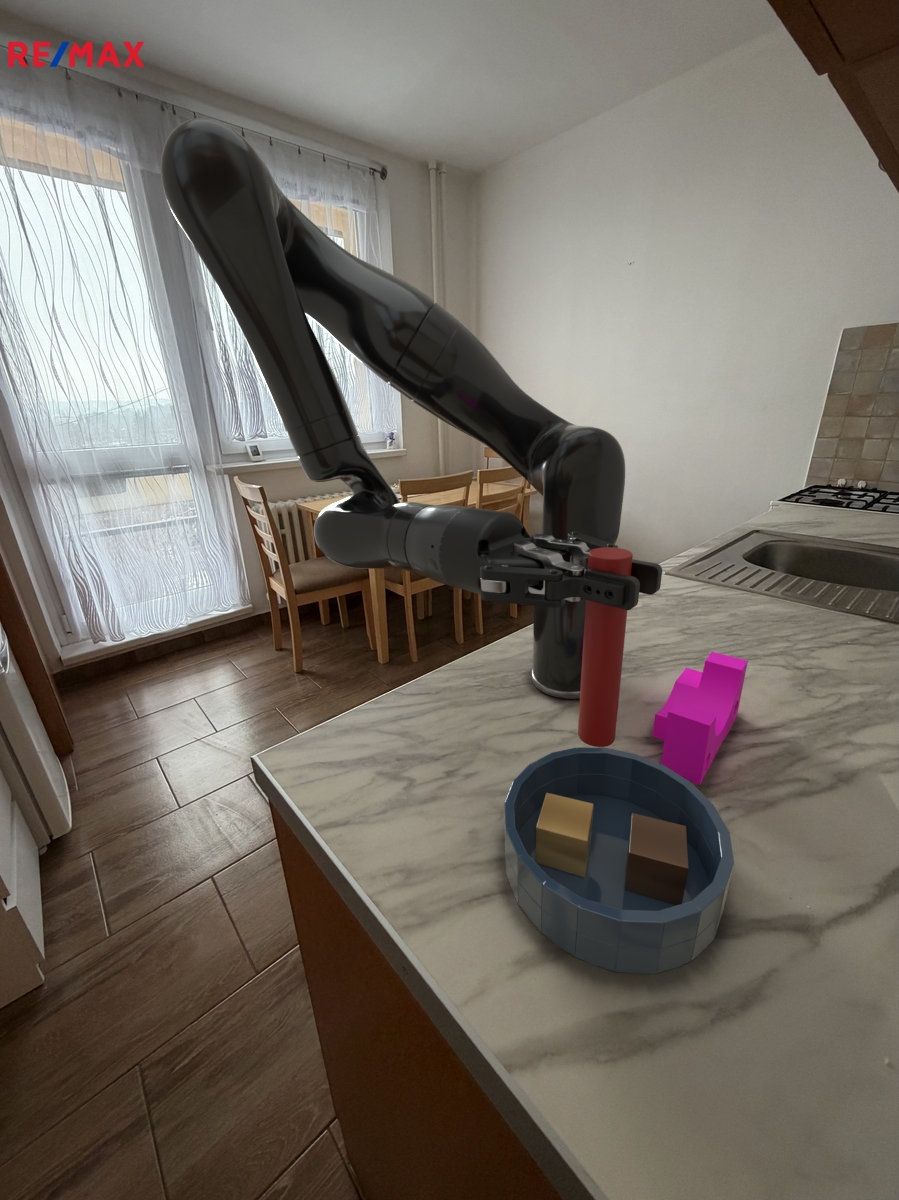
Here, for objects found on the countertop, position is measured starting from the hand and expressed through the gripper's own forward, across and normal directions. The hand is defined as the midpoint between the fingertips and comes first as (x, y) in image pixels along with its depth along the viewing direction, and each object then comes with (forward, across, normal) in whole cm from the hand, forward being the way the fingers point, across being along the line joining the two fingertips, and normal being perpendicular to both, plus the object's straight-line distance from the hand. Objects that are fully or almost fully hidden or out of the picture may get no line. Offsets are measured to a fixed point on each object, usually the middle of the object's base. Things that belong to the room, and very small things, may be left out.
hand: (647, 587), depth 33 cm
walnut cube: (+4, -2, +23) cm, 23 cm away
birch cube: (-3, -5, +23) cm, 24 cm away
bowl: (+1, -3, +24) cm, 24 cm away
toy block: (-1, +18, +24) cm, 30 cm away
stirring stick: (-3, 0, +14) cm, 14 cm away
